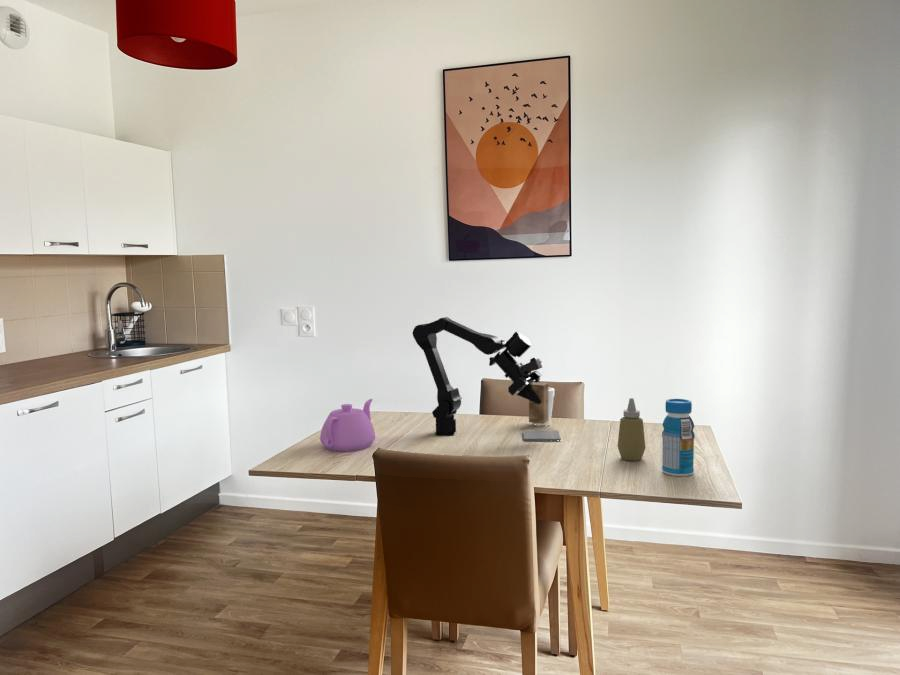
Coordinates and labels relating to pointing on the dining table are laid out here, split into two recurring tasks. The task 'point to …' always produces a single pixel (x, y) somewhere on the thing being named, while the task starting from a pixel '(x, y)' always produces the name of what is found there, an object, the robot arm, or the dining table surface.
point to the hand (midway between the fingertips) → (542, 401)
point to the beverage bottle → (678, 438)
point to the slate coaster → (541, 435)
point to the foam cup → (549, 405)
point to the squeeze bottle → (631, 434)
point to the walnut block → (539, 411)
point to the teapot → (348, 429)
